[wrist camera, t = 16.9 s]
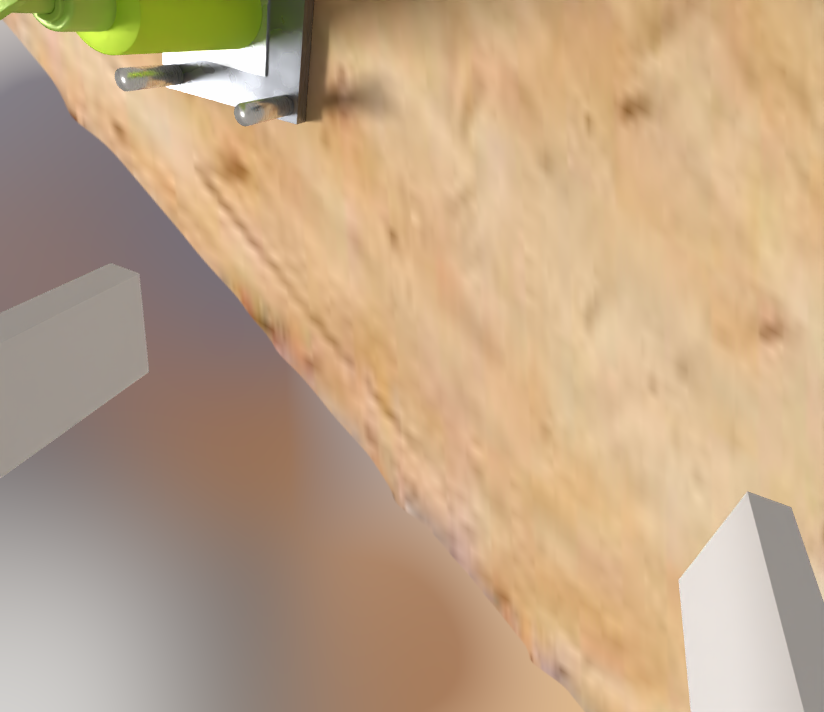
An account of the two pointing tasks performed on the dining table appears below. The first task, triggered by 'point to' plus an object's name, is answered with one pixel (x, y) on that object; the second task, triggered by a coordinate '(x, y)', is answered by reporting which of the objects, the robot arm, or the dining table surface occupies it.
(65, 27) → the soap dispenser
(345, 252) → the dining table surface
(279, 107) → the display stand
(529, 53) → the dining table surface
